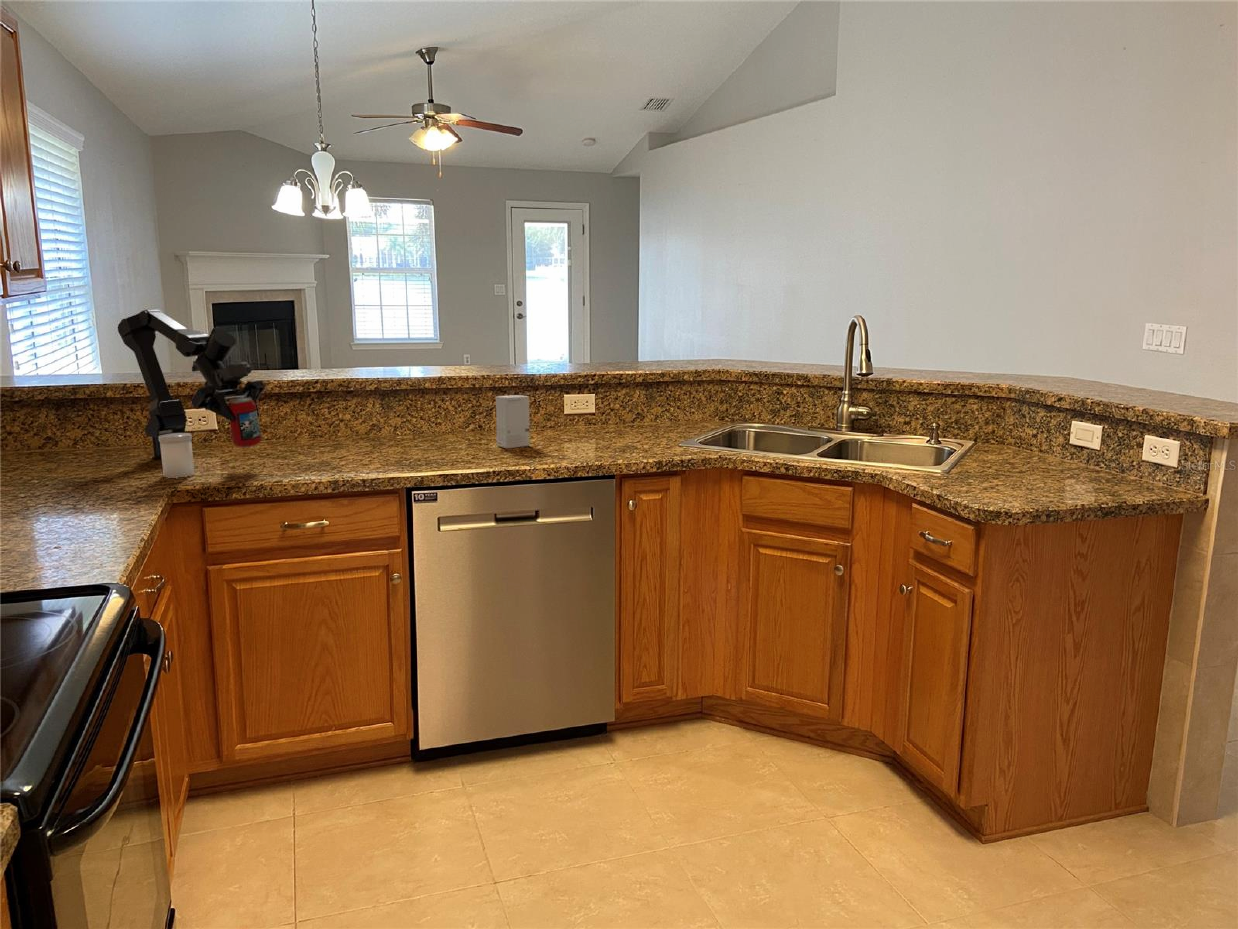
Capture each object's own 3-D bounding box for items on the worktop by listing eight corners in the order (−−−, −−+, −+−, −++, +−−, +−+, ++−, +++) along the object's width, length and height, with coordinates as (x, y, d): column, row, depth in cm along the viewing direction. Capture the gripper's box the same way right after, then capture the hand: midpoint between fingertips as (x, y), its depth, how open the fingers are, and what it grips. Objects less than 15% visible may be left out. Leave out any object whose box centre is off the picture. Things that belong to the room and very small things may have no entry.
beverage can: (252, 448, 228) (244, 402, 224) (228, 448, 229) (220, 402, 226) (267, 441, 234) (259, 396, 231) (244, 441, 235) (236, 396, 232)
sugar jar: (157, 479, 221) (153, 438, 219) (169, 472, 228) (165, 433, 226) (189, 478, 222) (184, 437, 220) (199, 472, 229) (195, 432, 227)
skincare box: (506, 449, 259) (505, 397, 255) (495, 446, 263) (494, 395, 260) (531, 445, 264) (530, 395, 261) (520, 442, 268) (519, 393, 265)
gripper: (194, 354, 220) (227, 403, 217) (258, 349, 236) (290, 394, 233) (177, 384, 225) (209, 432, 222) (240, 377, 241) (271, 421, 238)
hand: (246, 419), depth 229 cm, fingers closed on beverage can, 6 cm apart
